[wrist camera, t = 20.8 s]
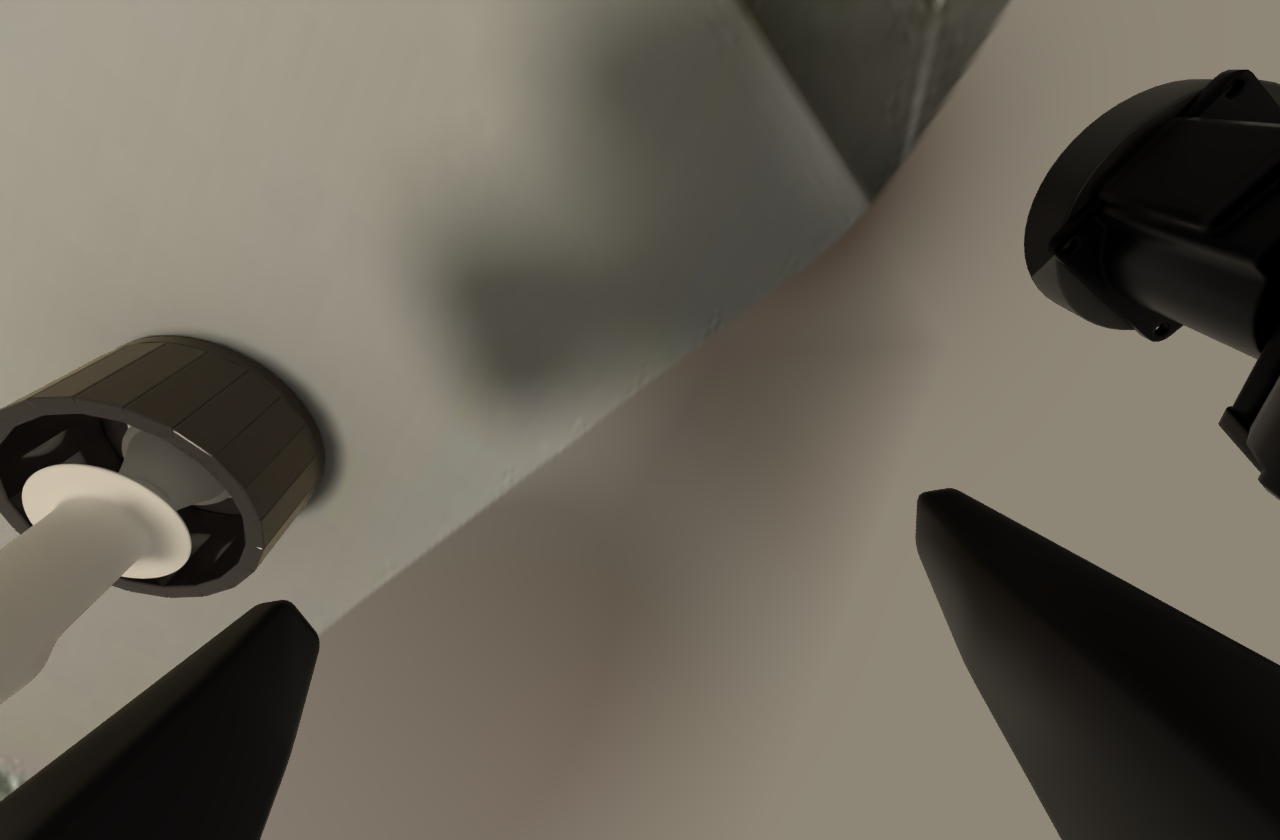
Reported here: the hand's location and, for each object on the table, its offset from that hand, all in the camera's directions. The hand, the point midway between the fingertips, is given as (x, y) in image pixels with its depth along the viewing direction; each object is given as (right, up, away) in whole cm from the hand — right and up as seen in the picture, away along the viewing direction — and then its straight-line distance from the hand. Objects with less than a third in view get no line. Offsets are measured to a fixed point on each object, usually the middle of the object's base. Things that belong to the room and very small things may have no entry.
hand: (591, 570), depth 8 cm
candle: (-16, +1, +14) cm, 21 cm away
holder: (-16, +2, +14) cm, 22 cm away
